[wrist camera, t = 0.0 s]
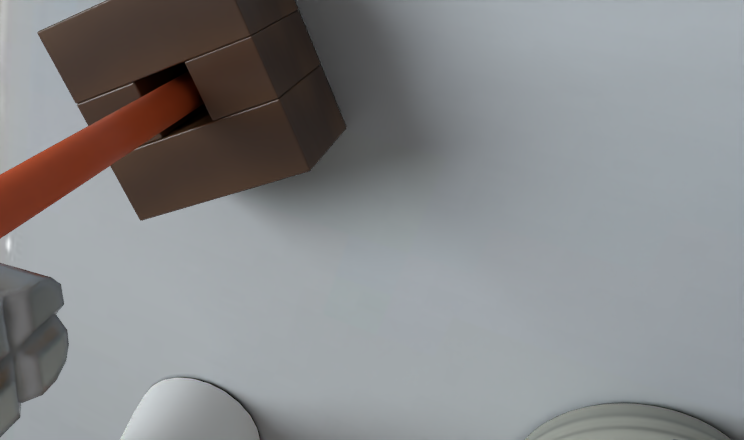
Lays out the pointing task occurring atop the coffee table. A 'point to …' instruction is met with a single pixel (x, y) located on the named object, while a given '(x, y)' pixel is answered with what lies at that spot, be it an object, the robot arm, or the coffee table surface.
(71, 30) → the brown wooden square block
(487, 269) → the coffee table surface
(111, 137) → the orange thin rod
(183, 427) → the cup
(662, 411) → the jar
